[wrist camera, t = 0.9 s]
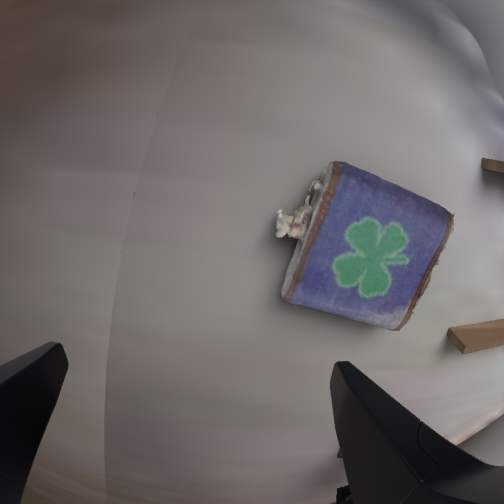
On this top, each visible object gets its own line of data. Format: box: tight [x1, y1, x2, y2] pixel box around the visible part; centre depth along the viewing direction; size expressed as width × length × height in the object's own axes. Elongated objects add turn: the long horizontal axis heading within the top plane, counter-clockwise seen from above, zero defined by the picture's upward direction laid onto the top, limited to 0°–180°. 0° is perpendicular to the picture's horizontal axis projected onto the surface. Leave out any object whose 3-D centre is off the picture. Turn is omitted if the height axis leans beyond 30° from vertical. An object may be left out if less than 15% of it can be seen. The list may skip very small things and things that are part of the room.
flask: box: [276, 161, 454, 331], centre depth 19 cm, size 9×3×11 cm
